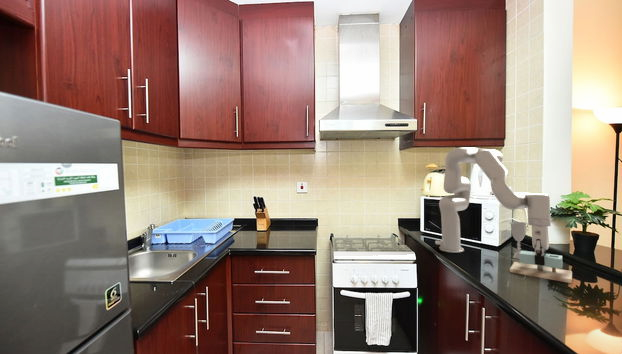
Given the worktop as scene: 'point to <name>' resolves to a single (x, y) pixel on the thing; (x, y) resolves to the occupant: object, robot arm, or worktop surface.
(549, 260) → the flange bar
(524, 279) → the worktop surface
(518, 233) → the chalice
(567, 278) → the post board
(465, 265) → the worktop surface
